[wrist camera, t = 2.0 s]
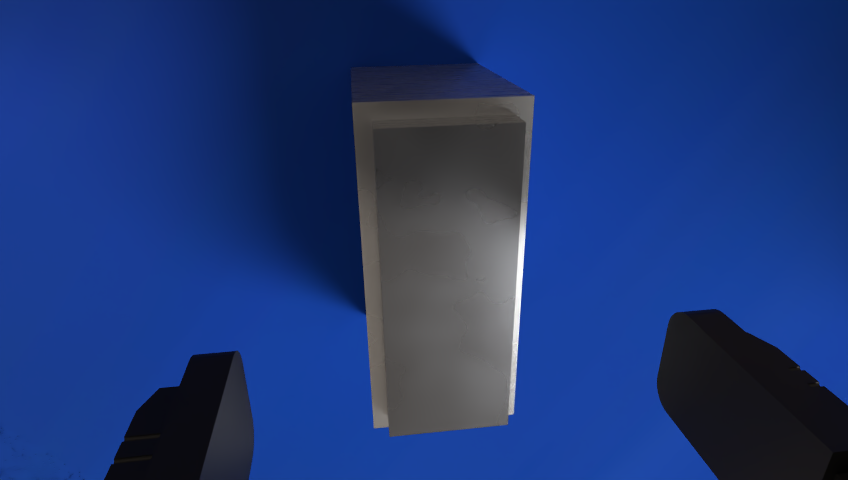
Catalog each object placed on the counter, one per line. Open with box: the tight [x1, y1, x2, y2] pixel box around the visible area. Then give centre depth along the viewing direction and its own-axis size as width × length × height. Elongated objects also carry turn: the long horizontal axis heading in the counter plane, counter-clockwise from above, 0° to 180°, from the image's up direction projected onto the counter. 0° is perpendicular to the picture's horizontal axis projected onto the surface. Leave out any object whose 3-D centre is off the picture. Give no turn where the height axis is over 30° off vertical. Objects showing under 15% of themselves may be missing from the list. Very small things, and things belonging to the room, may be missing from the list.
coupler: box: [351, 63, 534, 437], centre depth 16 cm, size 4×9×7 cm, turn 1°
